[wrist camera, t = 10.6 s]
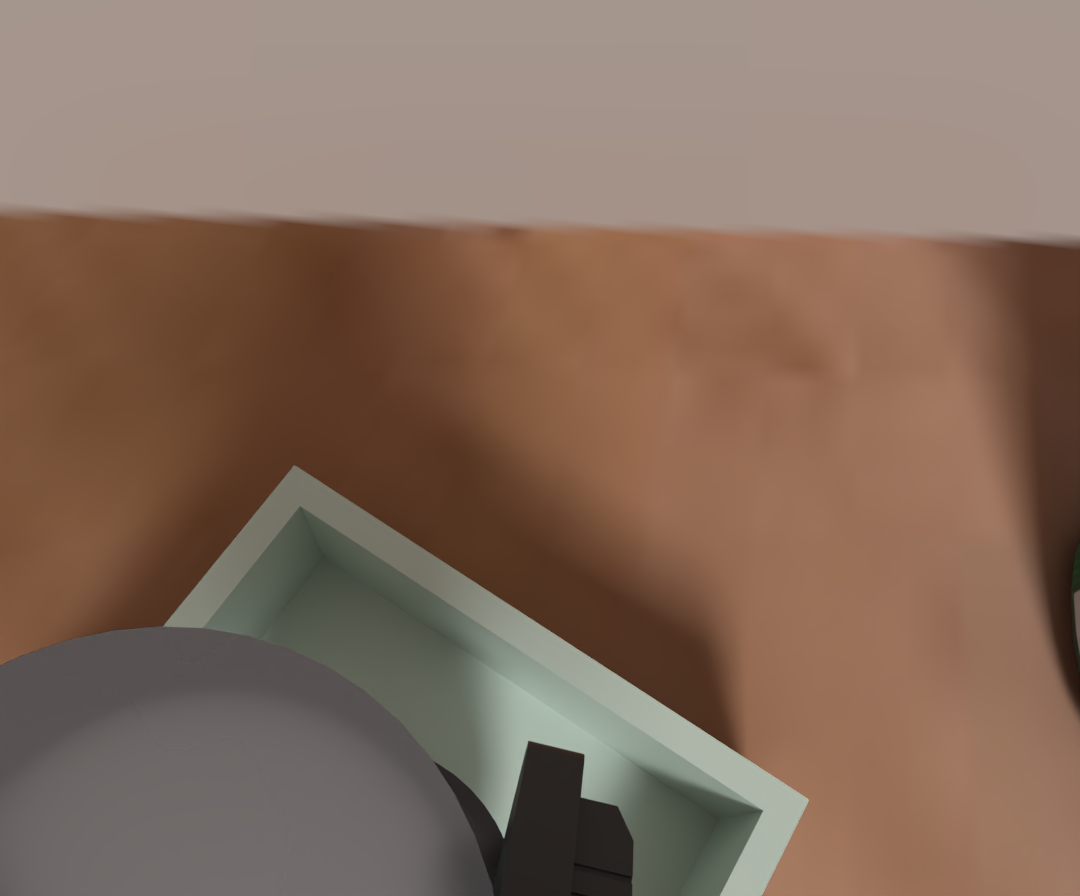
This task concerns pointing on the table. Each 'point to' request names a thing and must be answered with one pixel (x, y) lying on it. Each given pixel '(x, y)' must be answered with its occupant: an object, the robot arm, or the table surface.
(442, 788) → the silver domed cylinder
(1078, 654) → the coffee jar
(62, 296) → the table surface
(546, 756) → the robot arm
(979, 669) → the table surface
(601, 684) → the bin
